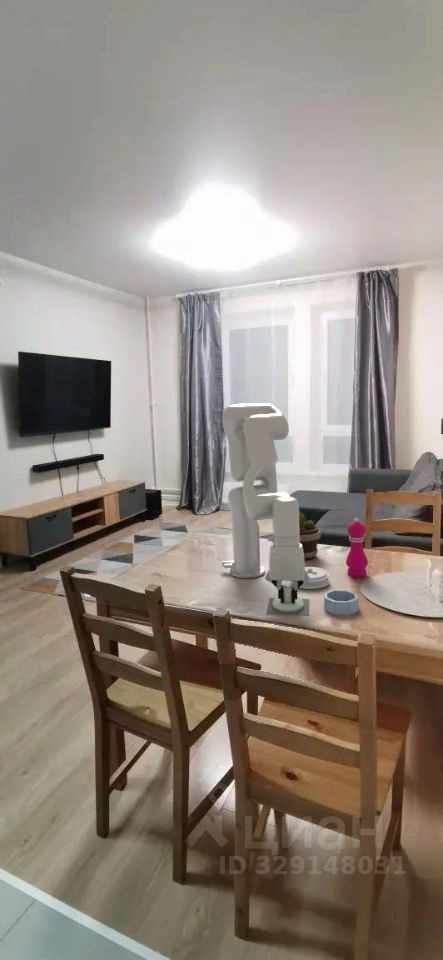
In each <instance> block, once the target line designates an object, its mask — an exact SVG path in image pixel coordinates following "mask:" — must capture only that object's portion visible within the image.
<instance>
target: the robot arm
mask: <svg viewBox="0 0 443 960" xmlns="http://www.w3.org/2000/svg"><path fill="white" fill-rule="evenodd" d="M221 420H222V427H223V431H224V433H225V436H226V439H227V442H228V451H229V452H228V453H229V465H230V466H229V467H230V475H231V478H232V480H233V481H235V482H240V483H241V482H242V485H239V486H238V485H237V486H235V487H233V488H231V489H230V490H229V492H228V495H227V500H228V505H229V511H230V517H231V527H232V528H231V529H232V551H233V554H232V555H233V559H232V560H230V561H228V560H223V561H221V565H222V566H221V567H223V568H224V569H229V574H230V573H231V574H232V575H233V577H234V576H236V577H235V578H237V577H239V578H238V579H254V578H258V577H262V576H264V574H265V573H266V569H265V567H264V566H262V565H261V545H260V542H261V541H260V525H259V522H258V521H261V520H271V519H272V534H271V535H269V536H267V541H268V542H272V543H271V545H270V548H269V556H268V557H269V558H268V559H269V560H268V571H267V573H266V575H265V577H264V580H265V581H267V582H269V583H271V584H272V585H273V586H274V587H276V589H277V595H278V596H277V598H278V599H281V603H283V584H282V583H283V581H285V582H286V581H287V582H290V581H293V585H292V588H293V589H292V603H295V599H297V597H298V590H299V587H300V586H301V585H302V584H303V583H306V582H308V581H310V577H309V575H308V573H307V572H306V570H305V567H306V566H305V565H306V564H305V561H306V560H304V552H303V547H302V544H300V538H299V511H300V507H299V505H300V504H299V501H298V499H297V498H295V497H293V496H291V495H290V494H289V493H287V492H278V482H277V481H278V480H277V479H278V478H277V468H276V464H277V463H278V461H279V460H278V459H279V457H278V453H277V449H276V445H275V441H281V440H282V441H283V440H285V439H287V437H288V435H289V432H290V431H289V430H290V429H289V422H288V420H287V418H286V416H285V415H284V413H283V412H281V411H280V410H279V409H278V408H277V407H276V406H274V405H273V404H271V403H267V402H266V403H265V402H261V403H259V402H258V403H238V404H237V403H235V404H232V405H228V406H227V407H225V408H224V409H223V412H222V419H221ZM256 481H258V482H259V481H260V484H259V483H257V484H255V482H256ZM231 574H230V575H231ZM232 575H231V576H232Z"/></svg>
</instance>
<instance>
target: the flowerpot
mask: <svg viewBox="0 0 443 960" xmlns="http://www.w3.org/2000/svg"><path fill="white" fill-rule="evenodd" d="M314 522H315V521H314V520H313V521H312V520H311V519H310V520H309V519H308V521H307V520H306V517H305V513H303V512H302V510H299V538H300V544H302V547H303V552H304V561H310V560H313V559H315V558H316V556H317V554H318V551H319V550H318V548H317V547H318V543H319V539H320V538H321V537H322V531H321V530H320V529H319V527H318V526H317V525H316V523H315V524H314Z"/></svg>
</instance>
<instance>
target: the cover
mask: <svg viewBox="0 0 443 960" xmlns="http://www.w3.org/2000/svg"><path fill="white" fill-rule="evenodd" d="M282 586H283V603H281V599H278V597H275V598H276V599H274V600H273V608H274V609H275V610H278V611H281V612H296V611H299V610H301V609H303V607H304V602H303V600H302V599H303V598H300V597H299V596H297V599H295V603H292V589H293V588H292V587H293V585H292V584H291V583H286V584H282Z"/></svg>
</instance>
